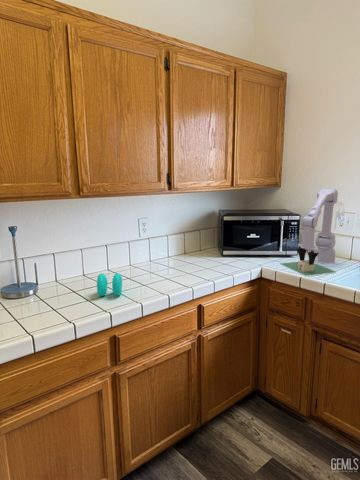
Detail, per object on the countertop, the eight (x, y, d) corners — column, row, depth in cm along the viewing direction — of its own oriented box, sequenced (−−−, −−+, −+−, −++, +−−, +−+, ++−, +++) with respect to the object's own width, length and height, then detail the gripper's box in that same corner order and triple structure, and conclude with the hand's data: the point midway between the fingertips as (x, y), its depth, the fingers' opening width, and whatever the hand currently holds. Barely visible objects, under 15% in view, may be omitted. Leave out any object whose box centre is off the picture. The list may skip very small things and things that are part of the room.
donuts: (100, 291, 155) (99, 270, 153) (122, 290, 156) (121, 270, 153) (97, 299, 145) (95, 277, 143) (120, 299, 146) (119, 277, 144)
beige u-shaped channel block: (308, 268, 188) (309, 259, 187) (313, 270, 184) (314, 261, 183) (298, 269, 186) (298, 260, 185) (302, 271, 182) (303, 262, 181)
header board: (307, 261, 204) (308, 256, 203) (337, 273, 182) (337, 267, 181) (279, 264, 198) (279, 259, 198) (305, 276, 176) (306, 271, 175)
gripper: (293, 236, 187) (292, 260, 190) (310, 241, 173) (309, 267, 176) (304, 235, 189) (302, 258, 192) (322, 240, 175) (320, 265, 178)
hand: (306, 262), depth 184 cm, fingers open, 7 cm apart
